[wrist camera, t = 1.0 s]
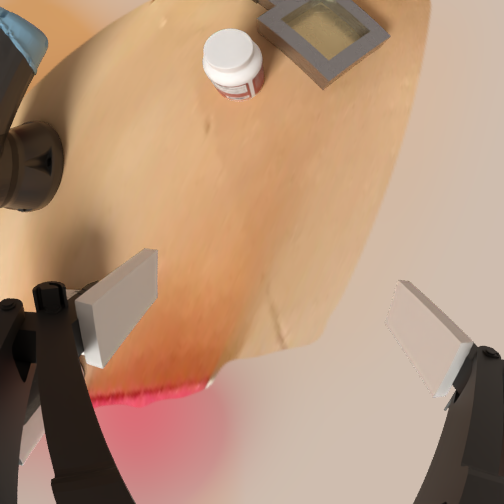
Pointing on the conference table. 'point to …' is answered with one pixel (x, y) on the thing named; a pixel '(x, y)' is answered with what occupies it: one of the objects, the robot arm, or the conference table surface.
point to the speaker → (32, 421)
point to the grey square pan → (321, 35)
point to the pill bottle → (234, 64)
